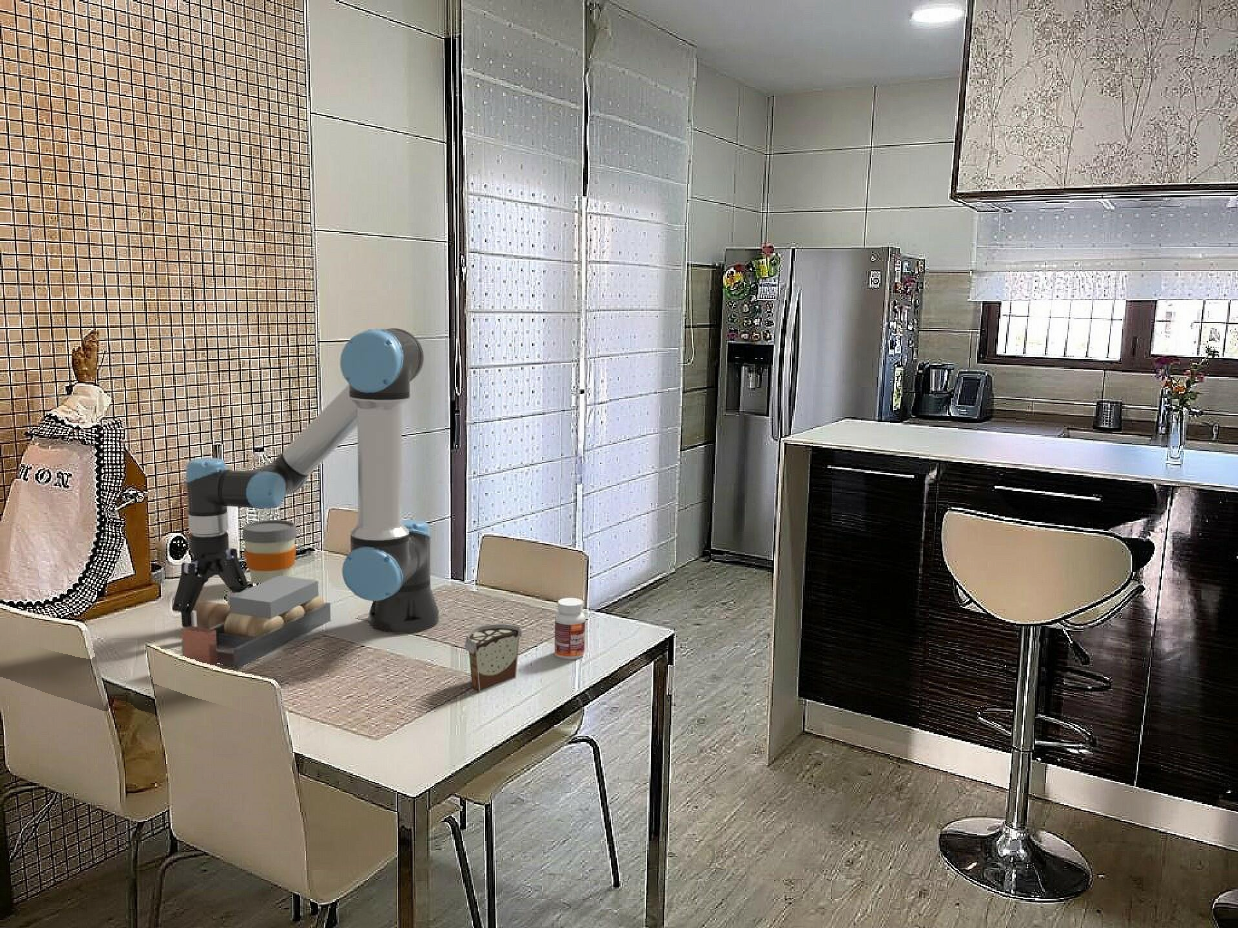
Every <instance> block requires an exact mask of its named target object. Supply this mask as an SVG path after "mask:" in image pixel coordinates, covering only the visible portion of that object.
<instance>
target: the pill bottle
mask: <svg viewBox="0 0 1238 928" xmlns="http://www.w3.org/2000/svg"><path fill="white" fill-rule="evenodd" d="M583 610H584V602H583V600H582V599H580V598H577V597H576V598H575V597H564V598H561V599H559V600H558V601H557V611H558V612H557V613H556V614H555V616H554V655H555V656H556V657H557V658H559V659H561V660H562V659H563V660H569V661H571V660H572V661H573V660H577V659H580V658H582V657H584V655H585V650H586V649H585V648H586V646H585V645H586V644H585V640H586V616H585V614H584V613H583Z"/></svg>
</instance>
